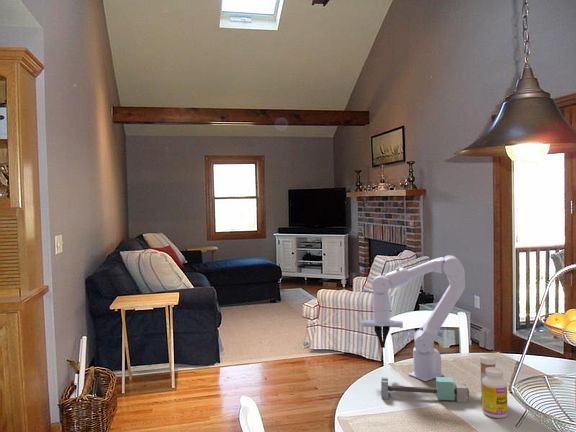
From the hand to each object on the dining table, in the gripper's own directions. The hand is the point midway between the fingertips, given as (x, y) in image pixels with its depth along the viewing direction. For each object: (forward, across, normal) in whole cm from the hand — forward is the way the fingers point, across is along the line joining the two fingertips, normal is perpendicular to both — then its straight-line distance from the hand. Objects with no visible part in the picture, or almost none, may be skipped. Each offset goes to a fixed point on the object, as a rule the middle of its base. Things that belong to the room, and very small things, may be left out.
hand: (382, 346), depth 170 cm
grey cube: (+10, +24, -19) cm, 32 cm away
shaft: (+8, +13, -19) cm, 24 cm away
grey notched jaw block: (+10, +1, -19) cm, 21 cm away
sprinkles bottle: (+10, +33, -17) cm, 38 cm away
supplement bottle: (+10, +33, -27) cm, 43 cm away
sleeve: (+10, +20, -19) cm, 29 cm away
